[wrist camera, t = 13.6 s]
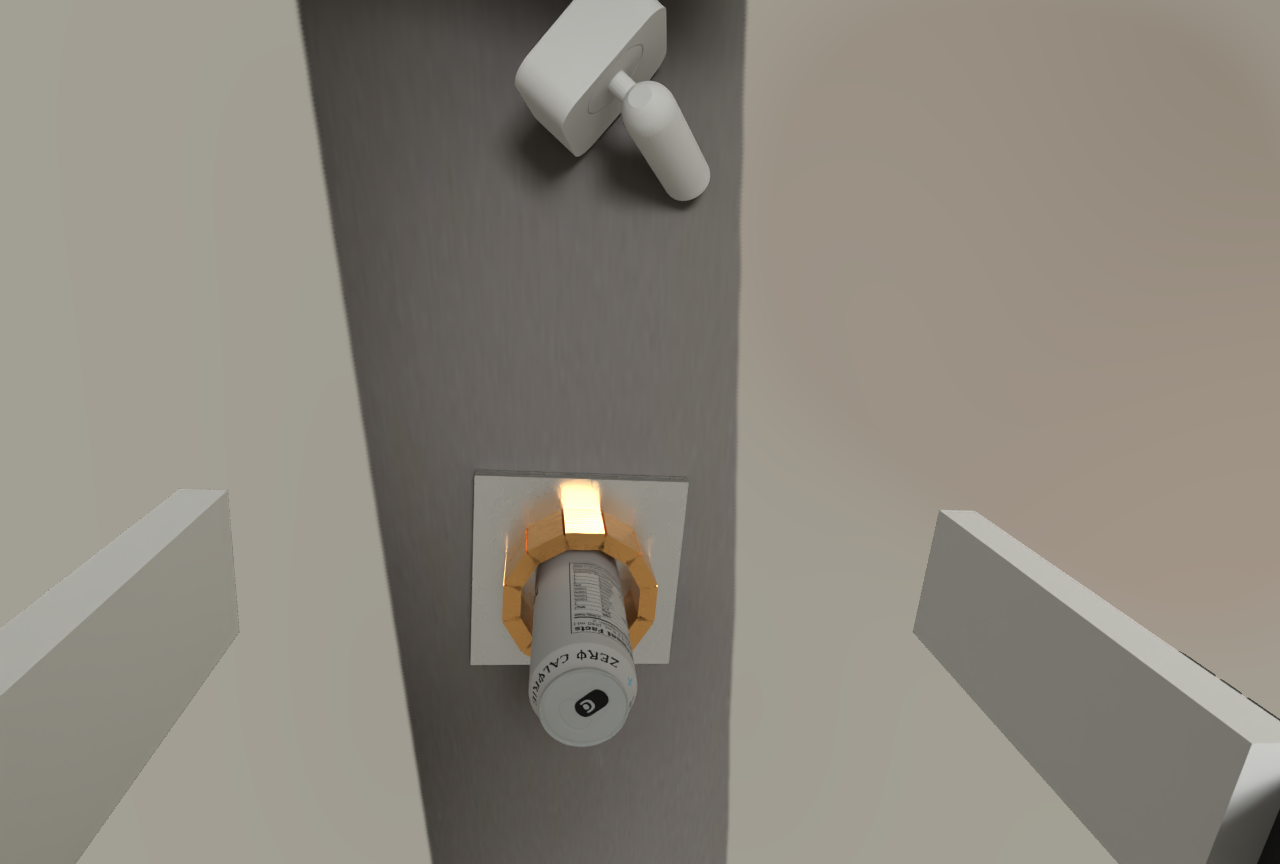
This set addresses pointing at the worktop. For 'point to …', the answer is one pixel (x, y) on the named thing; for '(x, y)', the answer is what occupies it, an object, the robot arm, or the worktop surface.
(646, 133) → the wall hook
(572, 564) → the energy drink can
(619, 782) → the worktop surface
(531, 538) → the keeper
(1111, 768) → the robot arm
